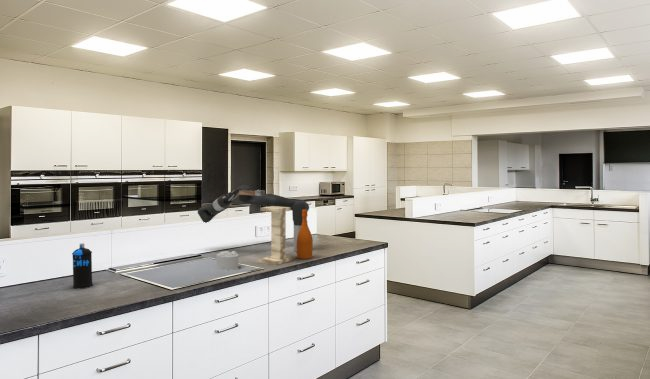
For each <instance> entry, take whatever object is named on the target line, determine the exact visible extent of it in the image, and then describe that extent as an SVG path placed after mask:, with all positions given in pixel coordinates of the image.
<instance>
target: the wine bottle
mask: <svg viewBox="0 0 650 379" xmlns="http://www.w3.org/2000/svg"><path fill="white" fill-rule="evenodd" d="M302 217H303V219H302V225H301V228H300V231H299V233H298V236H297V251H296V257H297V259H299V260H309V259H312V258H313V246H314V245H313V244H314V243H313V240H314V239H313V235H312V233H311V230H310V227H309V225H308V212H307V210H306V209H303V210H302Z"/></svg>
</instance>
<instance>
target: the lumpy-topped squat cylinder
mask: <svg viewBox="0 0 650 379" xmlns="http://www.w3.org/2000/svg"><path fill="white" fill-rule="evenodd" d="M215 258H216V268H217V269H219V268H220V270H225V269H234V270H237V269H236V268H238V267H240V266H239V262H240V261H239V253H237V252H236V250H232V251H229V250H224V251H220V252H219V253H217V254H216V257H215ZM238 269H239V268H238Z"/></svg>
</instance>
